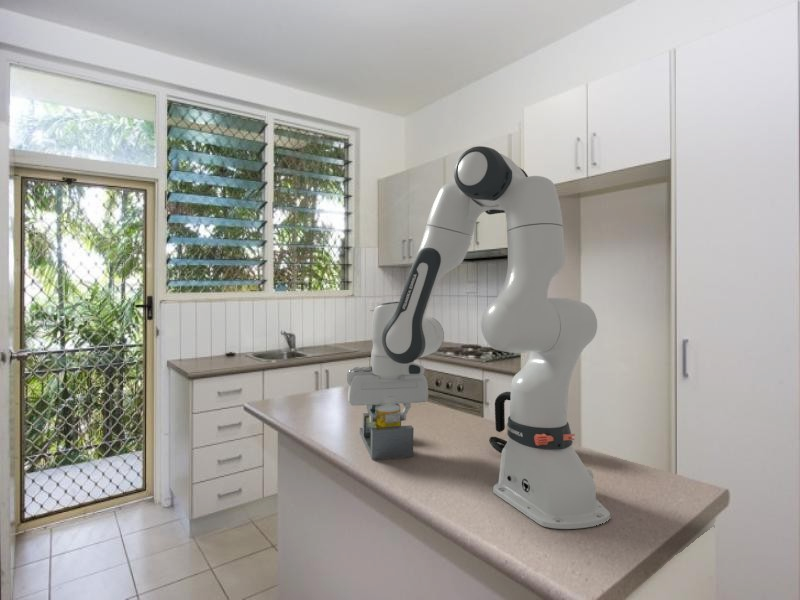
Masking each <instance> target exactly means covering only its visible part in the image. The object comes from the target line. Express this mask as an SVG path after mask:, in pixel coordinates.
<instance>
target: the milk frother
mask: <svg viewBox="0 0 800 600" xmlns="http://www.w3.org/2000/svg"><path fill="white" fill-rule="evenodd" d="M510 395H511V391H505V392H504V391H503V392H502V393H500V394H498V395H497V396H496V398H495V401H494V421H495V422H494V423H495V430H496V432H498V433H502V432H503V431H504V430H505V429H506V424H505V422H506V421H505V416H506V415H505V414H506V413H505V402H506V401H510ZM507 441H508V440H505V439H503V438H500V437H498V436H491V437H489V439H488V442H489V443H490V446H491V447H492V448H493V449H495V450H496V451H497V452H498V453H500V454H501V453H502V450H503V448H504V447H505V445H506V443H507Z"/></svg>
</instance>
